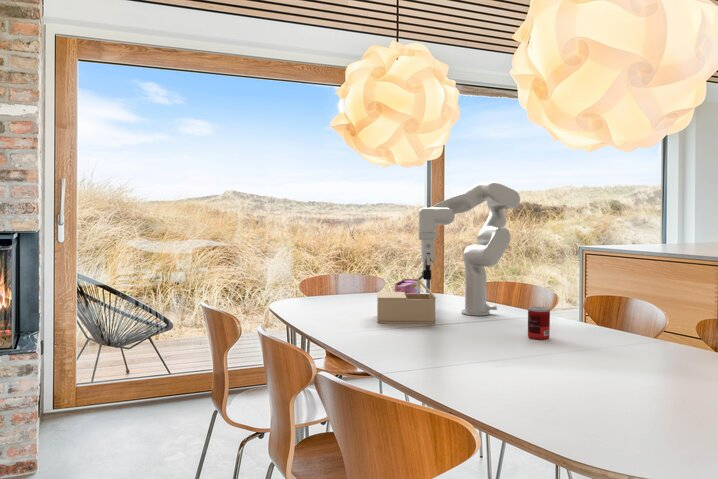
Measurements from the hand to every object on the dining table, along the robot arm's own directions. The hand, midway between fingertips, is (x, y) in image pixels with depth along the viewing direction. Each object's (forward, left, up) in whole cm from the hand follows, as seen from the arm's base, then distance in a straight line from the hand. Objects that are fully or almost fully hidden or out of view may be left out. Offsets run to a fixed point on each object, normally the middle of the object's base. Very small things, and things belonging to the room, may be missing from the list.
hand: (426, 278), depth 245 cm
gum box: (+7, -25, -18) cm, 32 cm away
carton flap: (+1, 0, -3) cm, 4 cm away
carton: (+9, 0, -18) cm, 20 cm away
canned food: (-38, +36, -18) cm, 55 cm away
